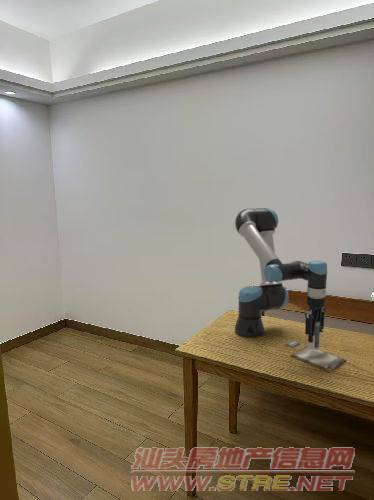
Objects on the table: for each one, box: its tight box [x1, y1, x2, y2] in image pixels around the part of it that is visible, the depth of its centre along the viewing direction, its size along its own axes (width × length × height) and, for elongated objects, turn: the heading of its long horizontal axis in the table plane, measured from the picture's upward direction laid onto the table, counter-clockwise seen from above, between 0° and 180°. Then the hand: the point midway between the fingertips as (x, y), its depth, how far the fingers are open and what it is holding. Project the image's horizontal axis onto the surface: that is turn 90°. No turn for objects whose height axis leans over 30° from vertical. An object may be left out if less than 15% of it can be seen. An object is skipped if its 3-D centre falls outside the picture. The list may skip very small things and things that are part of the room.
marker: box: [314, 321, 320, 350], centre depth 148 cm, size 4×4×12 cm
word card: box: [284, 339, 301, 348], centre depth 158 cm, size 4×6×1 cm, turn 130°
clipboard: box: [290, 345, 347, 373], centre depth 144 cm, size 18×14×2 cm
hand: (313, 346), depth 149 cm, fingers closed on marker, 4 cm apart
